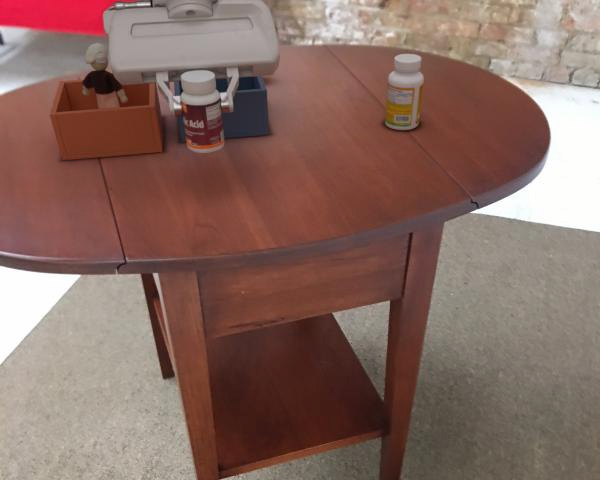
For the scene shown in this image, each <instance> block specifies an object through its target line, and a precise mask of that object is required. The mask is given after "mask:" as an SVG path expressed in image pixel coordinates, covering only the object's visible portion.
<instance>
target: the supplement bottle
mask: <svg viewBox="0 0 600 480" xmlns="http://www.w3.org/2000/svg"><path fill="white" fill-rule="evenodd" d="M421 67H422V56H420V55H418V54H414V53H401V54H397V55H395V57H394V60H393V69H394V70H393V71H391V72H390V73H389V74H388V78H387V87H386V88H387V89H386V99H385V114H384V123H385V126H386V127H388V128H389V129H392V130H397V131H409V130H414V129H415V128H416V127H418V125H419V123H420V118H421V117H420V116H421V108H422V107H421V106H422V99H423V92H424V91H423V90H424V80H425V77H424V74H423V73H422V72H421V71H420V70H421Z"/></svg>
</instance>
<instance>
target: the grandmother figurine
mask: <svg viewBox="0 0 600 480" xmlns="http://www.w3.org/2000/svg"><path fill="white" fill-rule="evenodd" d="M107 51H108V50H107V47H106V46H105V45H104V44H102V43H99V42H95V43H92V44H90V45H89V46H88V48H87V49H86V52H85V55H84V57H85V58H84V63H85V64H87V65H90V66H91V67H92V69H94V70H91V71H90V72H88V73H87V74H86V75H85V77H84V78H83V79H82V80H83V82H82V83H83V95H85V96H88V95H89V94H90V92H89V90H90V88H94V89H95V93H96V96H97V102H98V107H99V109H105V108H118V107H120V106H119V102H118V98H117V95H116V92H117V94H118V96H119V97H120V100H121V102H122V103H123V104H125V103H127V102H128V99H127V97H126V96H125V92H124V90H123V87H122V86H121V84H120V83H119V82H118V81H117V80H116V79H115V77H114V76H113V73H112V72H110V71H108V70H107V68H108V66H109V59H108V52H107ZM115 91H116V92H115Z"/></svg>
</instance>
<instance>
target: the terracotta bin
mask: <svg viewBox="0 0 600 480" xmlns="http://www.w3.org/2000/svg"><path fill="white" fill-rule="evenodd" d="M83 80H84V79H75V80H74V79H73V80H60V81H59V82H58V86H57V88H56V91H55V92H56V93H55V96H54V100H53V102H52V106H51V109H50V113H49V117H50V121H51V125H52V128H53V131H54V135H55V138H56V141H57V145H58V149H59V152H60V155H61V159H62V161H71V160H73V161H74V160H83V159H85V160H86V159H95V158H108V157H119V156H129V155H142V154H144V155H145V154H154V153H163V152H164V151H163V116H162V110H161V105H160V98H159V93H158V91H159V90H158V84H157V83H146V84H131V85H122V84H121V83H120V84H121V86H122V87H123V90H124V92H125V96H126V97H127V99H128V102H127V103H125V104H123V103H122V102H121V100H120V97H119V96H118V94H117V92H116V91H115V92H116V95H117V98H118V102H119V106H120V107H118V108H105V109H99V107H98V102H97V96H96V93H95V89H94V88H90V90H89V92H90V94H89V95H88V96H85V95H83V83H82V82H83Z"/></svg>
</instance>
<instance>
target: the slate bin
mask: <svg viewBox="0 0 600 480" xmlns="http://www.w3.org/2000/svg"><path fill="white" fill-rule="evenodd" d="M215 80H216V88H215V89H216V90H217V91H218V92H219V94H220V93H225V92H227V89H228V87H229V86H228V84H227V78H222V79H215ZM173 90H174V91H173V92H174V96H180V97H181V94H182V92H183V89H182V84H181V81H177V82H173ZM268 103H269V102H268V90H267V87H266V84H265V81H264V78H263V76H253V77H239V86H238V88H237V90H236V92H235V95H234V97H233V112H226V113H222V121H223V132H224V139H232V138H233V139H234V138H247V137H258V136H269V135H270V126H269V125H270V123H269V121H270V120H269V104H268ZM177 122H178V127H179V128H178V129H179V134H180V141H181V143H184V142H185V143H187V142H186V135H185V127H184V120H183V116H177Z"/></svg>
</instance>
